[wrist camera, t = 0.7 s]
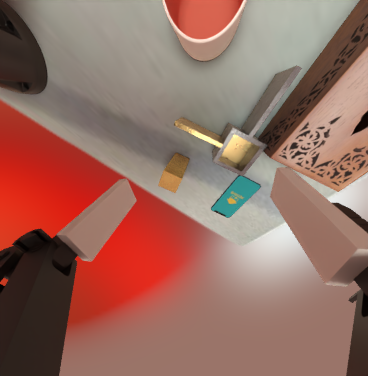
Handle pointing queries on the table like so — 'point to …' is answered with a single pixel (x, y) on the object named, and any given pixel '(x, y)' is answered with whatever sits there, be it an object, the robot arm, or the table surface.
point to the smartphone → (235, 196)
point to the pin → (174, 172)
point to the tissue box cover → (328, 111)
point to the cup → (204, 24)
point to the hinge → (243, 128)
